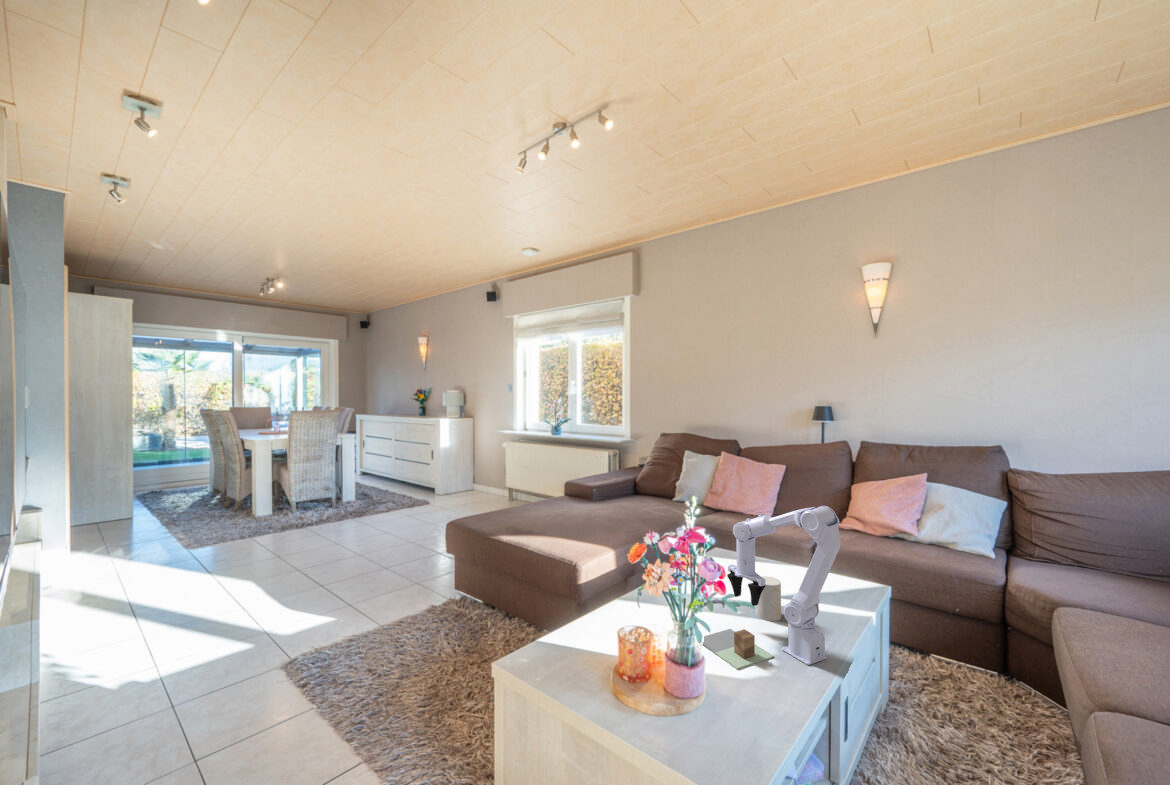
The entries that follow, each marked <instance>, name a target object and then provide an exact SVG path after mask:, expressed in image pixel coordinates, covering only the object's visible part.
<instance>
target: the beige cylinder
mask: <svg viewBox="0 0 1170 785" xmlns="http://www.w3.org/2000/svg"><path fill="white" fill-rule="evenodd" d="M760 576H761V577H762V578H764V579H765V584H766V586H765V588H764V589H763V591H762V593H761V596H760V599H759V603H758V605H756V606H755V616H756V617H757V616H758V618H759V619H760V620H762V621H763V620H764V621H769V622H776V621H777V620H778V621H780V620H781V619H782V592H781V591H782V582H781V580H780V579H779V578H776V577H773V576H767V575H766V576H765V575H760ZM779 619H780V620H779Z"/></svg>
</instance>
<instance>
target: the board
mask: <svg viewBox="0 0 1170 785" xmlns="http://www.w3.org/2000/svg"><path fill="white" fill-rule="evenodd" d="M734 632H735V631H734V630H733V629H731V628H727V629H725V630H721V631H718V632H714V633H710V634H707V635H703V636H704V642H703V645H702V646H703V647H705V649H708V650H709V651H710V652H712V653H713V654H714V655H716V656H718V657H719V658H721V659H722V660H723V661H725V662H726V663H727V664H728V665H730V666H731V667H733V668H734V669H736V670H740V669H743V668H746V667H749V666H752V665H756V664H758V663H762V662H763V661H764V662H765V661H767V660H770V659H774V657H775V655H774V654H772V653H770V652H768V651H767V650H765V649H764V648H762V647H760V646H759V645H757V644H755V656H753V657H750V658H747V659H743V658H741V657H740V656H739V655H737V654H736V653H734Z"/></svg>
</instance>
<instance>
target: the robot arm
mask: <svg viewBox="0 0 1170 785" xmlns="http://www.w3.org/2000/svg"><path fill="white" fill-rule="evenodd" d="M789 525H796V526H798V527H799V528H802V529H803V530H804V531H806V533H807V534H808V535H809V536H810V538H812V540H813V541H814V542H815V544H816V545H817V546H816V549H815V551H814V553H813V555H812V558H811V561H810V563H809V566H808V568H807V569H806V572H805V575H804V577H803V579H802V581H801V584H800V586H799V589H798V590H797V592H796V593H795V594H794V595H793V596H792V597H791V599H790V600H789V601H790V602H788V603H787V604H785V606H784V607H783V610H782V611H783V616H784V618H785V620H786V621H787V626H788V627H787V628H788V629H787V636H788V640H787V642H788V643H787V644H788V645H786V646H783V647H781V651H784V652H785V653H787V654H789V655H790V656H792V657H793V658H795V659H797V660H798V661H800V662H802V663H803V664H806V665H807V666H809V665H814V664H815V663H819V662H821V661H823V660H827V659H828V657H827V656H826V648H825V647H826V641H825V635H824V633H823V632H822V631H820V630H819V628H817V626H816V619H815V618H816V617H817V616H818V615H819V613H820V607H819V605H820V602H821V599H820V598H819V596H820V593H821V592H822V589H823V587H824V585H825V582H826V580H827V578H828V575H829V573H830V571H831V569H832V567H833V564H834V562H835V559H836V557H837V555H838V552H839V551H840V548H841V539H840V538H841V537H840V531H839V525H840V519H839V517H838V516H837V513H836V512H835V511H834V509H832V508H831V507H829V506H828V505H821V506H817V507H816V506H812V507H805V508H800V509H797V510H793V511H789V512H787V513H784V514H783V513H782V514H780V515H777V516H774V517H772V516H771V515H769V514H764V513H762V514H758V515H757V516H756V517H754V518H751V517H749V518H746V519H745V520H743V521H741V522H740V521H739V522H736V523H734V525H733V527H732V534H733V536H734V537H735V539H736V565H734V564H729V565H727V571H728V572H729V573H727V575H726V576H727V579H728V580H729V582H730V585H731V587H732V591H733V596H734V597H736V598H737V597H740V596H742V584H743V579H746V580H749V581H751V582H750V583H747V587H748V589H749V592H750V593H749V594H750V603H751V606H753V607H756V605H758V603H759V599H760V596H761V593H762V591H763V589H764V588H765V586H766V584H765V579H764V578H762V577H761V576H762V575H760V574H758V573H757V572H756V539H757V538H759V537H763V536H768V535H772V534H774V533H775V532H776V530H777V528H781V527H786V526H789Z"/></svg>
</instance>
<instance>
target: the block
mask: <svg viewBox="0 0 1170 785" xmlns="http://www.w3.org/2000/svg"><path fill="white" fill-rule="evenodd" d="M755 640H756V638H755V635H754V633H751V632H750V631H748V630H747V629H742V630H740V629H739V630H737V631H734V653H736V654H737V655H739V656H740V657H741V658H743V659H747V658H750V657H753V656H755V643H756V642H755Z"/></svg>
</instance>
